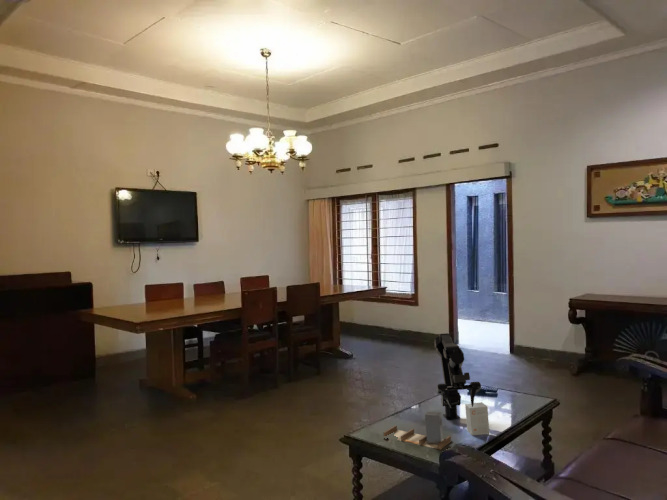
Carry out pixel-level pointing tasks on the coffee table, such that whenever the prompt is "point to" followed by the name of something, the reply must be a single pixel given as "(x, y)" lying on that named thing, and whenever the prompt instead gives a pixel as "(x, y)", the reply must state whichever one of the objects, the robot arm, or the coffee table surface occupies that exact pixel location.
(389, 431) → the slot rack
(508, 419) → the coffee table surface
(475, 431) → the small box
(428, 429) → the block
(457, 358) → the robot arm
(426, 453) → the coffee table surface
